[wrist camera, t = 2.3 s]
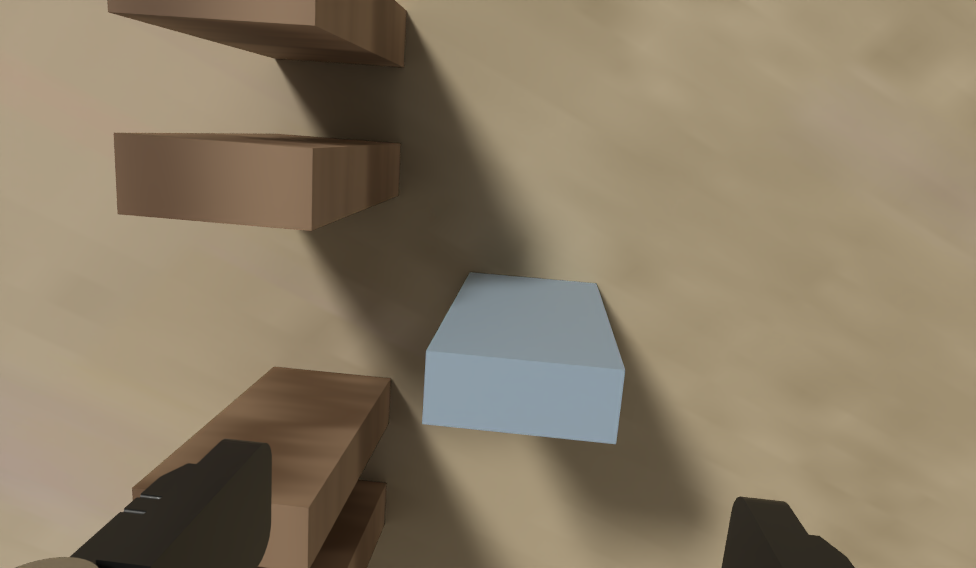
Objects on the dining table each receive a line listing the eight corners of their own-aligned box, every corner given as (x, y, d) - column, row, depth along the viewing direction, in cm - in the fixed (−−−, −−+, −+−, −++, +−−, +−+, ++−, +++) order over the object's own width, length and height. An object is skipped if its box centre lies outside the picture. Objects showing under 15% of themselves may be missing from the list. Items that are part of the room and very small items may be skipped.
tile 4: (390, 378, 28) (308, 507, 18) (388, 423, 29) (307, 572, 19) (274, 366, 28) (132, 488, 19) (273, 410, 29) (135, 551, 19)
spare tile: (596, 283, 26) (624, 370, 17) (591, 332, 27) (615, 444, 17) (469, 272, 27) (425, 350, 17) (466, 320, 27) (422, 423, 18)
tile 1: (406, 10, 25) (316, -69, 15) (404, 67, 25) (314, 25, 16) (274, 2, 25) (102, -81, 15) (274, 58, 26) (107, 11, 16)
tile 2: (400, 143, 26) (312, 148, 16) (398, 195, 26) (311, 230, 17) (274, 133, 26) (113, 132, 17) (274, 185, 27) (117, 214, 17)
